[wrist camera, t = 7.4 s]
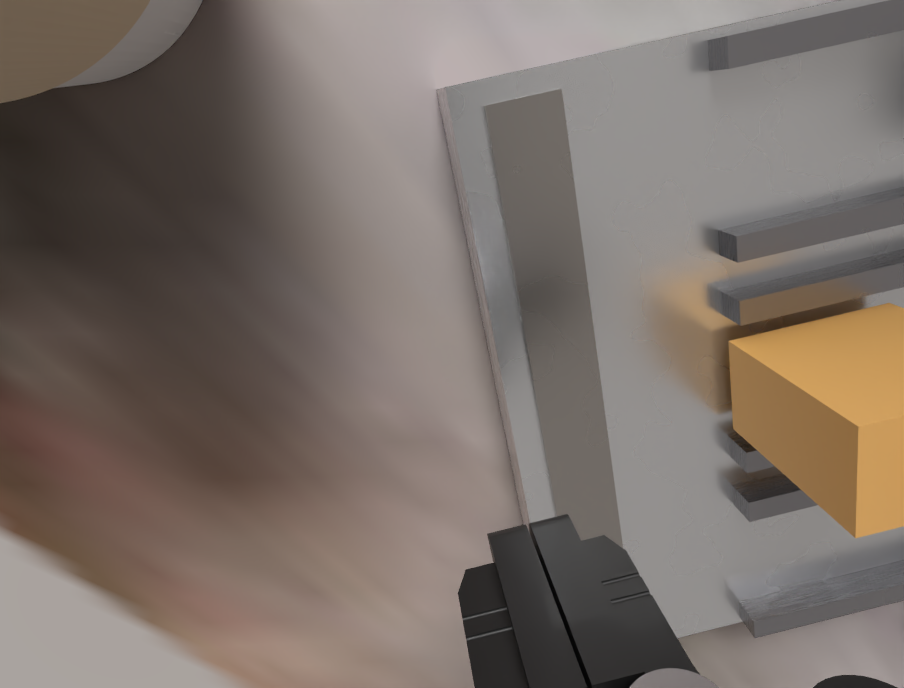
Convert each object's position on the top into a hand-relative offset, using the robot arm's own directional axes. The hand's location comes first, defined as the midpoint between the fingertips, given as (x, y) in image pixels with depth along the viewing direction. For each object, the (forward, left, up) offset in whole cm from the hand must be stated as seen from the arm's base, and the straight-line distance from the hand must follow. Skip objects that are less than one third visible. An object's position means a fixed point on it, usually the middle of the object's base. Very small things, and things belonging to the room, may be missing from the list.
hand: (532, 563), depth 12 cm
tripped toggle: (0, +8, -4) cm, 9 cm away
